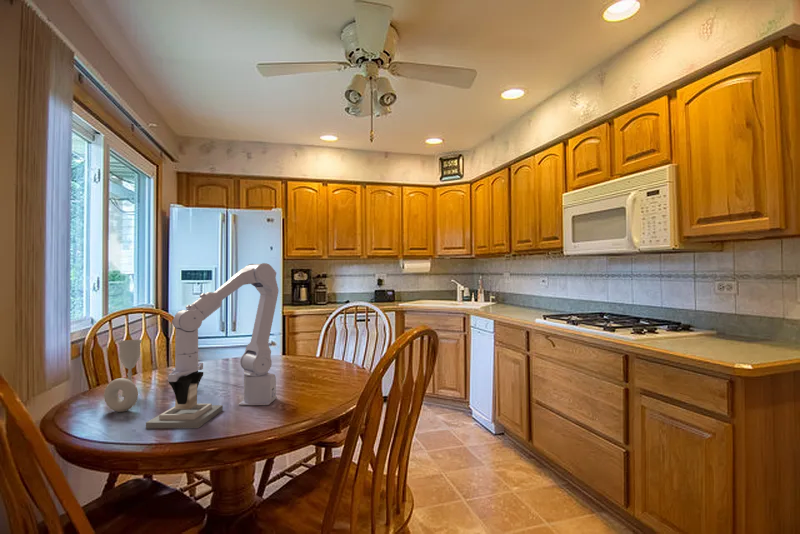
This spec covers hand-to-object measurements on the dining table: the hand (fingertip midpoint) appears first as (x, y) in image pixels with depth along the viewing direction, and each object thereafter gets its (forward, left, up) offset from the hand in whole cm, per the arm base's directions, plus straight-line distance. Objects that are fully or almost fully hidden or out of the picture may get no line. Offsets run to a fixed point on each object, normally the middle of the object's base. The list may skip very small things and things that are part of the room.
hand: (186, 401), depth 113 cm
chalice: (+33, -24, -5) cm, 41 cm away
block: (0, 0, -2) cm, 2 cm away
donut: (+23, -6, -5) cm, 24 cm away
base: (0, 0, -5) cm, 5 cm away
